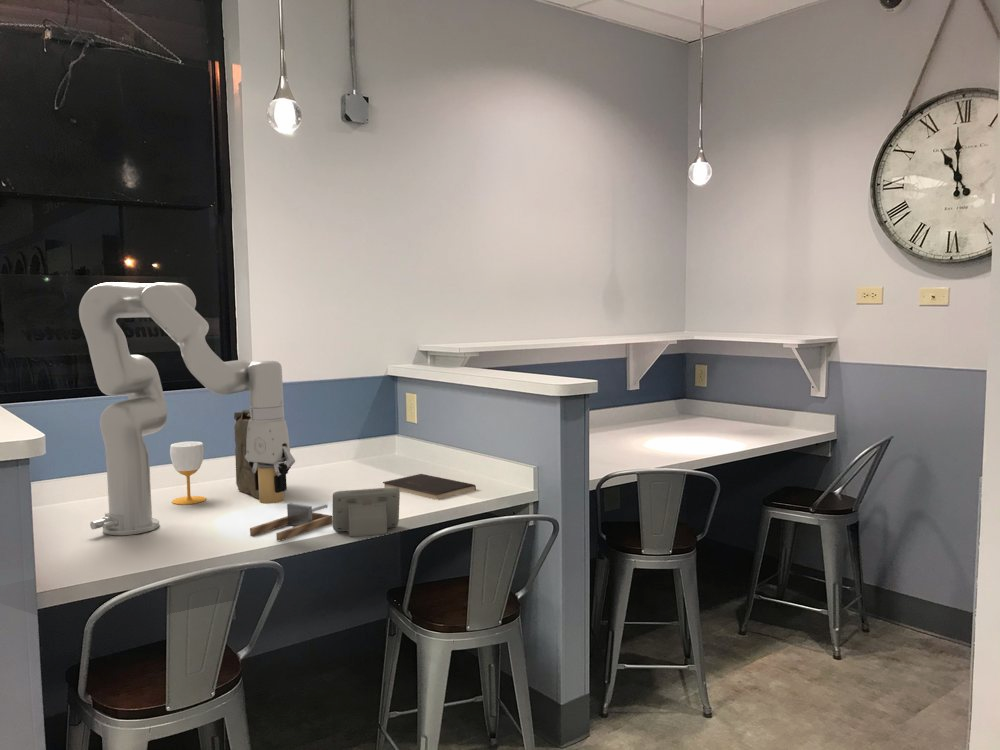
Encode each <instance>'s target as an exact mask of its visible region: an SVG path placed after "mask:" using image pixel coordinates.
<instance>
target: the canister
mask: <svg viewBox="0 0 1000 750" xmlns="http://www.w3.org/2000/svg"><path fill="white" fill-rule="evenodd" d="M249 410H250V409H247V408H243V409H242V411H238V412H235V411H234V412H233V415H234V417H233V419H234V420H235V423H234V442H235V444H234V445H235V449H234V452H235V456H234V457H235V484H236V487H237V490H238V491H239V492H242V493H244V494H248V495H250V496H252V497H254V498H256V499H258V500H259V490H256V489H255V473H253V471H252V467H251V466H250V465H249V462H248V461H247V460H246V459H245V455H246V453H247V451H246V441H247V427H248V422H249V420H251V414H250V412H249Z"/></svg>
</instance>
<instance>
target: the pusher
mask: <svg viewBox="0 0 1000 750" xmlns="http://www.w3.org/2000/svg"><path fill="white" fill-rule="evenodd" d="M286 506H287V507H286V509H287V512H286V513H287V516H288V525H290V526H291V525H292V526H299V525H302V524H305V523H308V522H311V521H312V512H313V513H316V512H317V511H321V510H324V509H326V508H328V504H327V503H326V504H322V505H318V506H316V507H313V506H311V505H304V504H300V503H299V504H298V503H292V502H290V503H287V505H286Z"/></svg>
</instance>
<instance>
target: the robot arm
mask: <svg viewBox="0 0 1000 750" xmlns="http://www.w3.org/2000/svg"><path fill="white" fill-rule="evenodd" d="M196 306H197V299H196V296H195V294H194V292H193V290H192V289H191V288H190V287H189V286H187V285H185V284H184V283H180V282H179V283H178V282H154V283H145V282H144V283H139V282H118V281H117V282H114V281H113V282H112V281H111V282H103V283H99V284H97V285H93V286H92V287H90V288H89V289H88V290H87V291H86V292H85V293H84V295H83V296H82V298H81V300H80V303H79V307H78V316H79V322H80V325H81V328H82V330H83V331H82V332H83V333H84V336H85V340H86V342H87V345H88V351H89V356H90V360H91V364H92V368H93V372H94V377H95V380H96V384H97V387H98V389H99V390H100V391H101V393H103V394H104V395H106V396H110V397H117V396H118V397H119V396H125V395H127V398H128V399H125V400H119V401H116V402H113V403H112V404H110V405H108V406H107V407H105V409H104V410H103V411H102V413H101V415H100V418H99V426H100V427H99V428H100V431H101V432H100V433H101V437H102V440H103V443H104V451H105V459H106V460H105V463H106V475H107V476H106V477H107V479H106V480H107V495H108V496H107V498H108V512H106V513H104V517H103V518H102V519H96V520H93V521H91V522H90V524H89V526H90V528H91V530H93V531H94V530H97V529H101V528H102V532H103V533H104V534H106V535H109V536H110V535H112V536H129V535H137V534H143V533H148V532H151V531H153V530H155V529H157V528H158V527H159V526H160V520H158V519H157V518H155V517H153V509H152V488H151V487H152V486H151V469H150V468H151V466H150V456H149V449H148V448H147V445H146V443H145V441H144V438H143V437H145V436H148V435H153V434H155V433H157V432H159V431H161V430H162V429H163V428H164V427H165V425H166V424H167V420H168V411H167V410H168V409H167V404H166V399H165V395H164V391H163V386H162V382H161V378H160V375H159V371H158V369H157V366H156V365H155V363H154V362H153V361H152V360H151V359H150V358H149V357H146V356H145V355H141V354H131V353H130V350H129V347H128V341H127V338H126V335H125V333H124V330H122V328H121V327H120V325H119V324H118V323H117V319H119V318H120V319H122V318H124V319H126V318H127V319H129V318H130V319H131V318H151V319H152V320H153V322H155V324H157V325H158V327H160V328H161V329H162V330H163V331H164V332H165V333H166V335H168V336H169V337H170V338H171V340H173V342H175V343H176V345H178V347H179V349H180V353H181V357H182V359H183V362H184V364H185V367H186V368H187V369H188V371H189V372H190V373H191V375H192V376H193V377H194V378H195V379H196V380H197V381H198V382H199V383H200V384H201V385H202V386H204V388H206V390H208V391H210V392H211V393H212V394H215V395H219V396H227V395H231V394H238V393H241V392H242V393H243V392H247V391H249V393H248V395H249V408H250V409H248V410H249V412H250V414H251V420H249V422H248V427H247V441H246V451H247V453H246V455H245V459H246V460H247V461H248V462H249V465H250V466H251V467H252V471H253V473H255V489H256V490H259V484H258V467H257V464H258V463H264V464H273V465H274V469H275V472H276V476H274V483H275V492H276V493H279V492H282V491H284V492H286V491H287V475H288V473H289V471H290V469H291V467H292V466H293V465H294V464H295V462H296V460H295V458H294V456H293V455H292V453H291V446H290V437H289V436H290V435H289V430H288V424H287V421H286V419H285V410H284V409H285V408H284V407H285V406H284V405H285V403H284V389H283V386H284V385H283V368H282V365H281V364H282V363H280V362H279V361H275V360H260V361H258V360H257V361H252V360H245V359H239V360H238V359H236V360H229V361H224V360H222V359H221V358H220V357H219V355H217V354H216V353H215V352H214V351H213V350H212V348H210V347H211V346H209V344H208V343H207V341H206V336H207V334H208V332H209V330H210V326H209V325H210V324H209V322H208V321H207V320H206V319H205V318H204V317H203V316H202V315H201V314H200V313H199V312H198V311H197V310H196ZM250 414H249V415H250ZM279 464H281V468H280V467H279Z"/></svg>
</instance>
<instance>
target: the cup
mask: <svg viewBox="0 0 1000 750" xmlns="http://www.w3.org/2000/svg"><path fill="white" fill-rule="evenodd" d="M204 452H205V449H204V443H203V442H202V441H181V442H175V443H172V444H170V448H169V457H170V460H171V463H172V466H173V468H174V469H175V471H176V472H177V473H179V474H180V475H184V476H185V477H186V496H181V497H177V498H174V499H172V501H171V503H172V504H173V505H177V506H179V505H180V506H181V505H182V506H185V505H186V506H187V505H195V504H199V503H203V502H205V501H206V500H207V497H205V496H201V495H191V478H190V477H191V476H192V475H194V474H195V473H197V471H199V469H200V468H201V467H202V464H203V461H204V456H205V454H204Z"/></svg>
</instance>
